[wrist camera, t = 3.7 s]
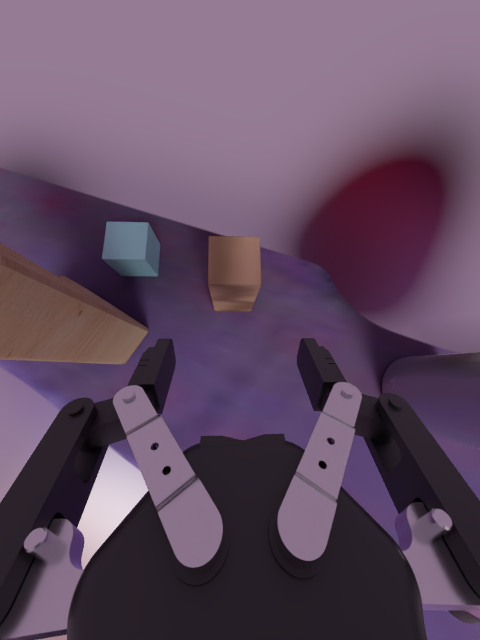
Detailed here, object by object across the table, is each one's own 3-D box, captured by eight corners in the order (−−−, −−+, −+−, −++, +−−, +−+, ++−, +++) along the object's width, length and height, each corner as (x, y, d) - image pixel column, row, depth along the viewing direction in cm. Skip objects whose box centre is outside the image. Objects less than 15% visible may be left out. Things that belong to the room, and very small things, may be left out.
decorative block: (56, 320, 29) (-290, 222, 10) (86, 286, 30) (-170, 138, 11) (123, 367, 28) (-109, 363, 9) (151, 330, 30) (0, 255, 10)
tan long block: (250, 277, 32) (259, 237, 22) (251, 311, 31) (261, 284, 21) (215, 276, 32) (208, 236, 22) (214, 311, 31) (208, 284, 21)
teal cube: (160, 244, 32) (148, 222, 27) (158, 276, 31) (145, 259, 26) (125, 244, 32) (106, 221, 27) (121, 276, 31) (101, 259, 26)
